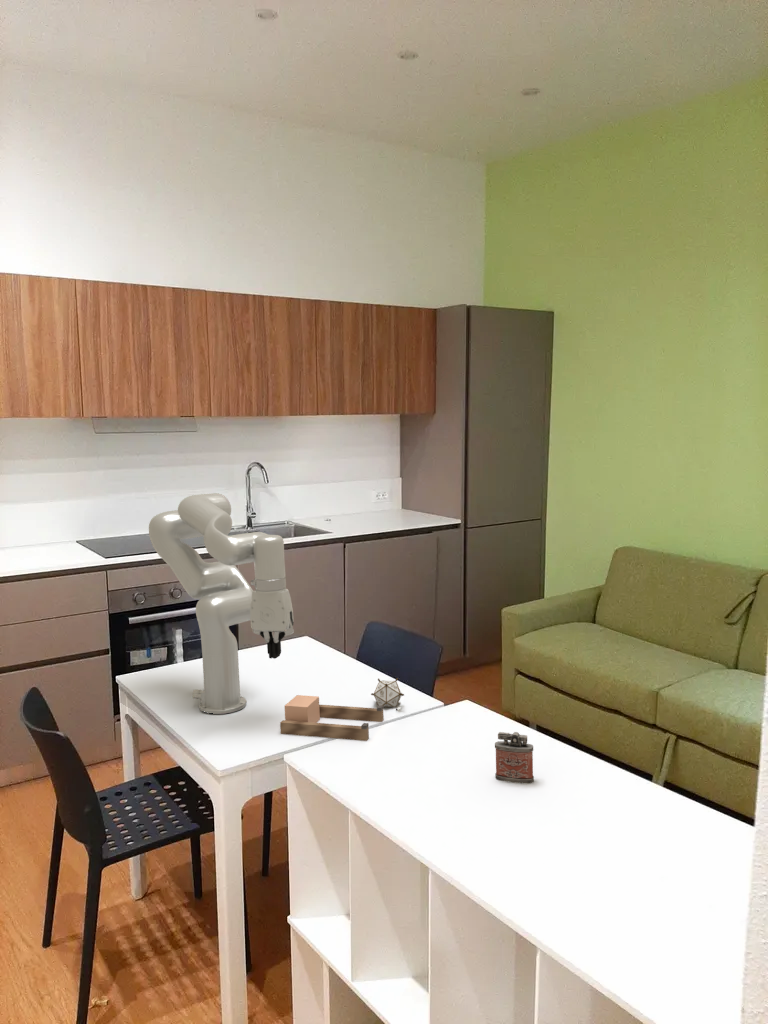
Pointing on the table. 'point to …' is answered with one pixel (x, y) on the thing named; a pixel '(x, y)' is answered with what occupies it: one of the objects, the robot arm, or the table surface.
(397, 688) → the game die
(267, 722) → the table surface
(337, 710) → the chute
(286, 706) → the block
